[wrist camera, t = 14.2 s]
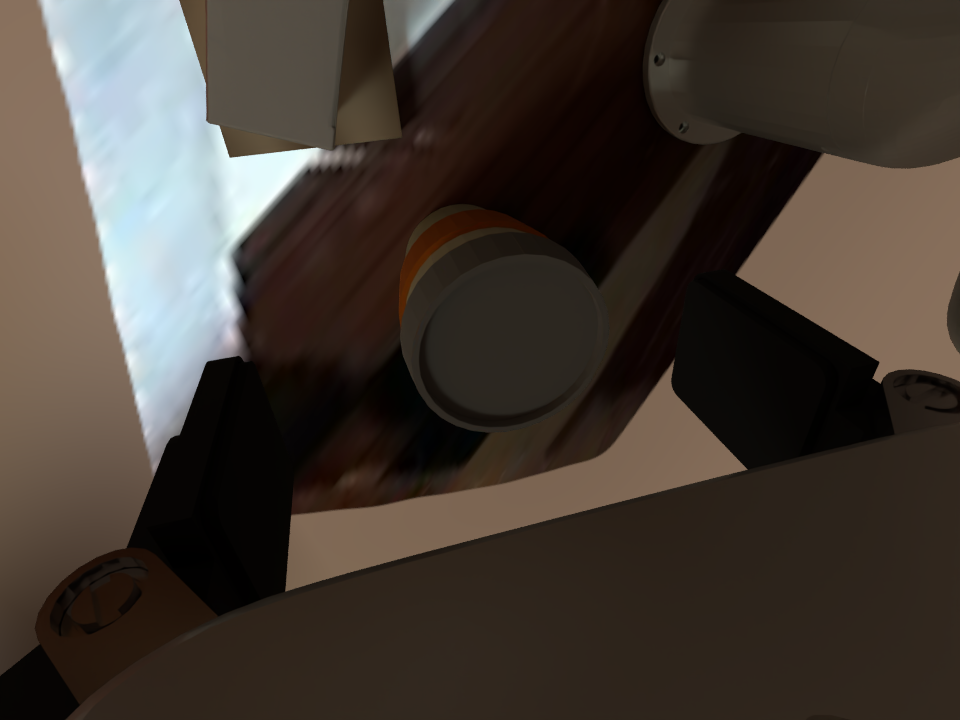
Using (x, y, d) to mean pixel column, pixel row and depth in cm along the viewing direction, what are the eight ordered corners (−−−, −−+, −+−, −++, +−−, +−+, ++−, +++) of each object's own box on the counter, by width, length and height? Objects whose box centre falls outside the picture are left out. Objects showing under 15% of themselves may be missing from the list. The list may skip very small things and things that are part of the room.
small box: (240, -66, 27) (201, -110, 19) (348, -30, 29) (357, -55, 21) (237, 98, 31) (202, 124, 22) (332, 121, 33) (334, 153, 24)
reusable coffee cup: (437, 351, 46) (476, 466, 34) (349, 240, 39) (358, 336, 27) (555, 273, 45) (640, 364, 33) (487, 145, 38) (563, 200, 26)
